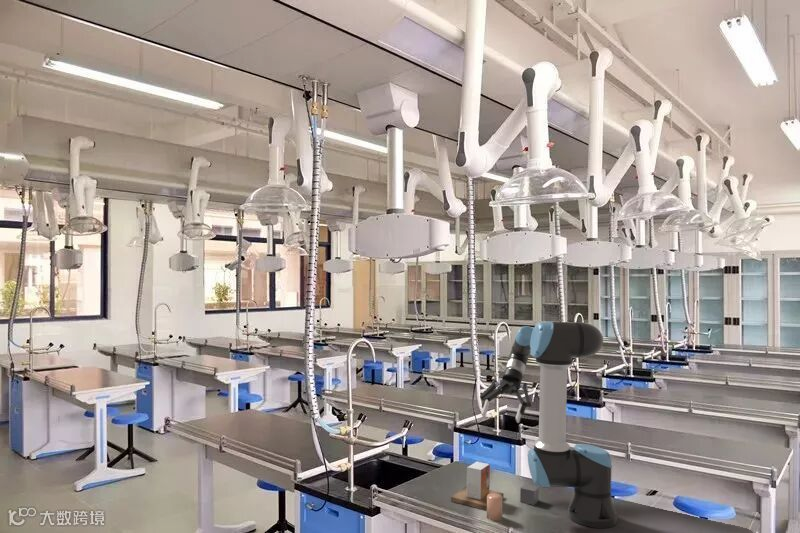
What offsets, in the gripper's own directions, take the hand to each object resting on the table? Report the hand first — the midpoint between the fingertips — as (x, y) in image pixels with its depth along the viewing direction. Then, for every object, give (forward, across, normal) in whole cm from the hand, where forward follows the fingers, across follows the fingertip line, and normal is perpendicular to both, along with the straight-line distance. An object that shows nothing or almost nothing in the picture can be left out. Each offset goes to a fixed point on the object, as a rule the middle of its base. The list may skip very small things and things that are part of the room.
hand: (499, 418), depth 211 cm
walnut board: (+29, +3, -8) cm, 30 cm away
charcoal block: (+23, -14, -15) cm, 30 cm away
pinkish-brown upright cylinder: (+37, -8, -1) cm, 38 cm away
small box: (+28, +2, -8) cm, 29 cm away
